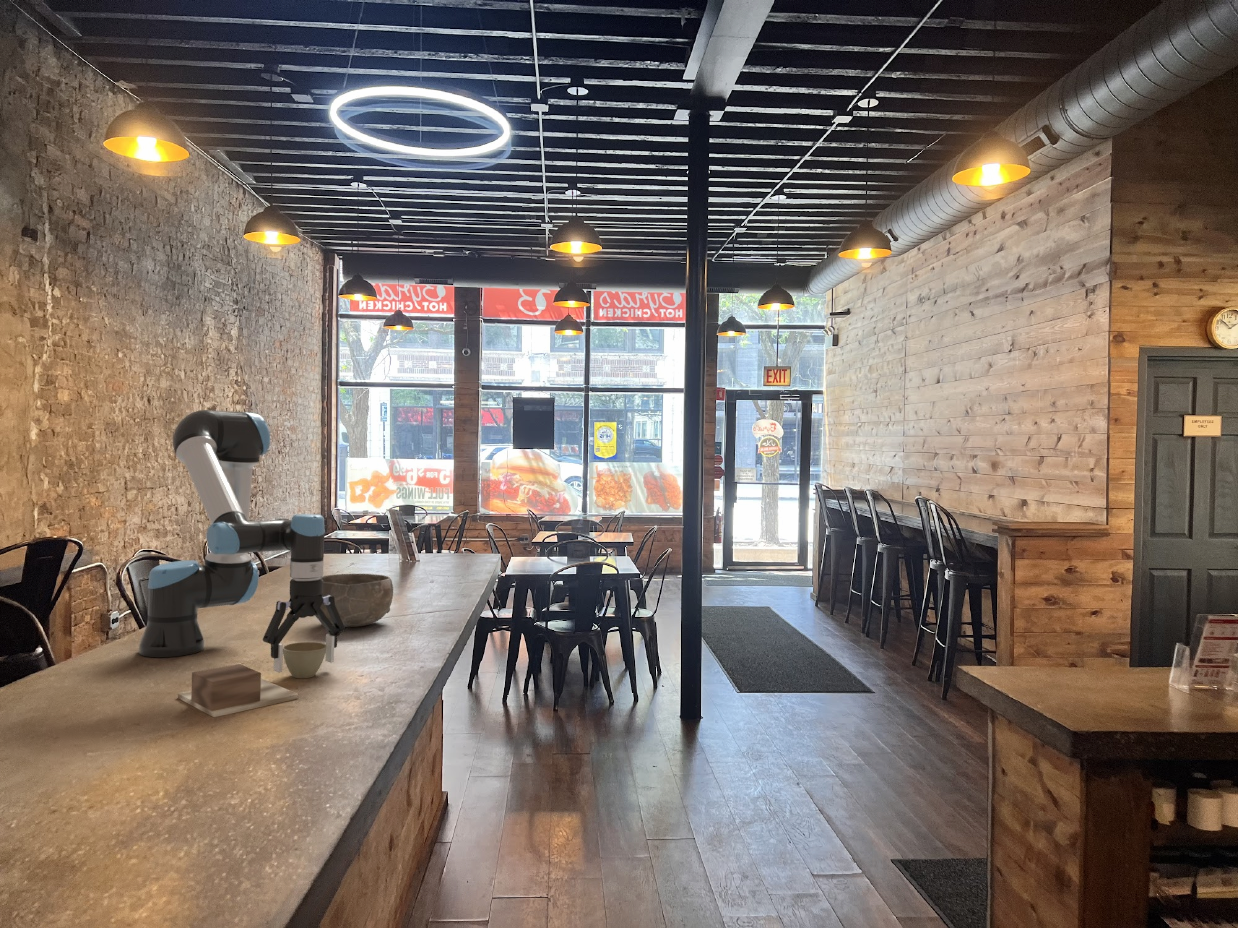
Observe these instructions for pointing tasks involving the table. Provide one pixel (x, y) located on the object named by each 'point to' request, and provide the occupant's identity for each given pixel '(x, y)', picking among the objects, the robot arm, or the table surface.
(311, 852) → the table surface
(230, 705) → the pedestal
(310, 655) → the flower pot
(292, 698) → the board
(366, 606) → the bowl
